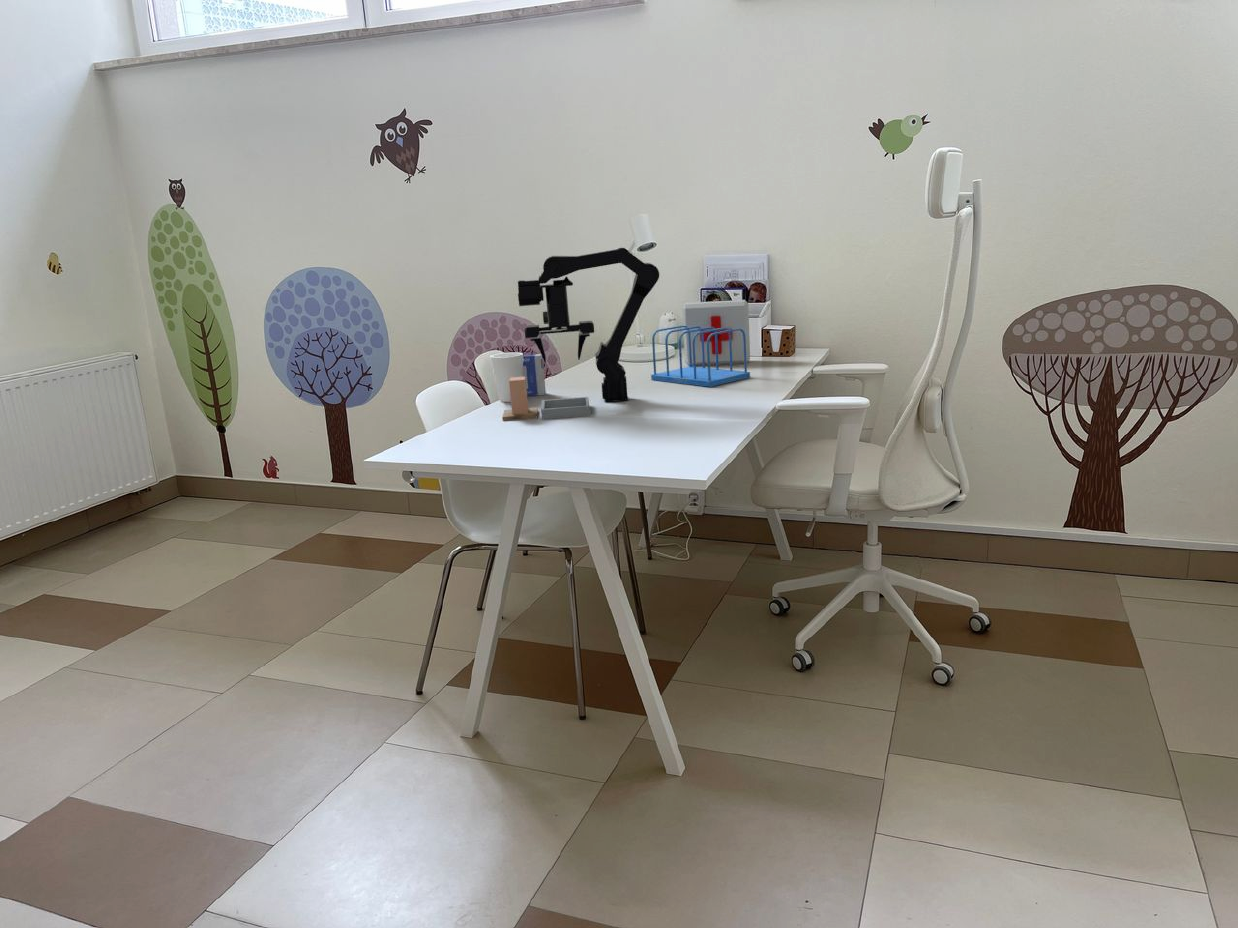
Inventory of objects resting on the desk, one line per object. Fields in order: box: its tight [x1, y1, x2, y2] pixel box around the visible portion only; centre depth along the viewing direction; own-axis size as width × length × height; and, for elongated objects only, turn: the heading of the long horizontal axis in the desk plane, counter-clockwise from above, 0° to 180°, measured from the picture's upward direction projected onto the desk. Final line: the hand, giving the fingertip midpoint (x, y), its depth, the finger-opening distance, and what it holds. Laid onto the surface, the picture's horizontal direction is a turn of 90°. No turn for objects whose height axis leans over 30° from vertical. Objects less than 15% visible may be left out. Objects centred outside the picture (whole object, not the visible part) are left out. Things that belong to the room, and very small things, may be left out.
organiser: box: [540, 396, 591, 420], centre depth 249 cm, size 13×13×2 cm
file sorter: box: [650, 324, 751, 388], centre depth 282 cm, size 25×17×15 cm
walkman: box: [523, 353, 547, 397], centre depth 276 cm, size 8×3×12 cm, turn 85°
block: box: [509, 377, 529, 415], centre depth 248 cm, size 4×5×9 cm
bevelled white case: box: [681, 299, 751, 367], centre depth 306 cm, size 21×8×20 cm, turn 81°
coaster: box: [502, 407, 539, 422], centre depth 249 cm, size 9×9×1 cm
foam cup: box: [489, 351, 524, 403], centre depth 271 cm, size 10×9×13 cm
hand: (562, 360), depth 258 cm, fingers open, 9 cm apart
